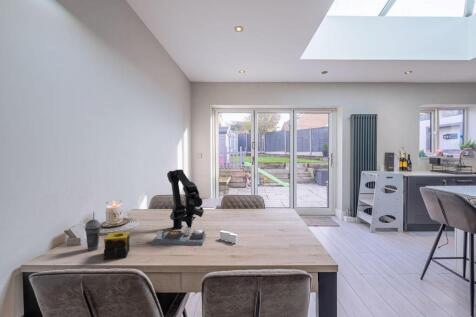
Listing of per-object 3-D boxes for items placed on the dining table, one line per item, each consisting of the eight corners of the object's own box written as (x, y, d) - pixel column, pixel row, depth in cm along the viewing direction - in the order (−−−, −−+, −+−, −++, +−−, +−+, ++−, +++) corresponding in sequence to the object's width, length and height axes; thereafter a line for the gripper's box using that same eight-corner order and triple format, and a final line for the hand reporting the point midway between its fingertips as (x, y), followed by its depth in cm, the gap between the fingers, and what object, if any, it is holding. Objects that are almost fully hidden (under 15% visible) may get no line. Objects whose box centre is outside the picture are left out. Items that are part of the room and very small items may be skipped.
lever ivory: (185, 233, 148) (185, 227, 148) (190, 233, 148) (190, 227, 148) (184, 235, 145) (184, 228, 145) (189, 235, 145) (189, 228, 145)
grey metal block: (158, 237, 141) (158, 230, 140) (163, 237, 141) (163, 230, 140) (156, 239, 138) (156, 232, 137) (161, 239, 138) (161, 232, 137)
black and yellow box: (103, 260, 116) (103, 239, 116) (108, 251, 125) (108, 232, 125) (126, 258, 118) (126, 237, 118) (129, 250, 128) (129, 231, 128)
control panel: (160, 236, 150) (160, 228, 150) (205, 237, 149) (205, 229, 149) (152, 244, 137) (152, 236, 137) (202, 245, 136) (202, 237, 136)
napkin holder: (215, 239, 147) (215, 229, 147) (232, 237, 151) (232, 227, 151) (223, 248, 133) (223, 238, 133) (242, 245, 138) (242, 235, 137)
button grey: (194, 232, 145) (194, 229, 145) (203, 233, 145) (203, 229, 145) (192, 235, 140) (192, 232, 140) (201, 235, 140) (201, 232, 140)
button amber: (171, 234, 145) (171, 231, 145) (179, 234, 145) (179, 231, 145) (168, 237, 140) (168, 234, 140) (177, 237, 140) (177, 234, 140)
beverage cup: (97, 245, 133) (97, 209, 133) (103, 249, 129) (103, 211, 128) (82, 249, 128) (82, 211, 127) (88, 253, 123) (87, 213, 123)
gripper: (200, 208, 143) (200, 234, 143) (205, 201, 161) (205, 225, 162) (181, 207, 143) (181, 234, 143) (188, 201, 162) (188, 224, 162)
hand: (189, 229), depth 153 cm, fingers closed
